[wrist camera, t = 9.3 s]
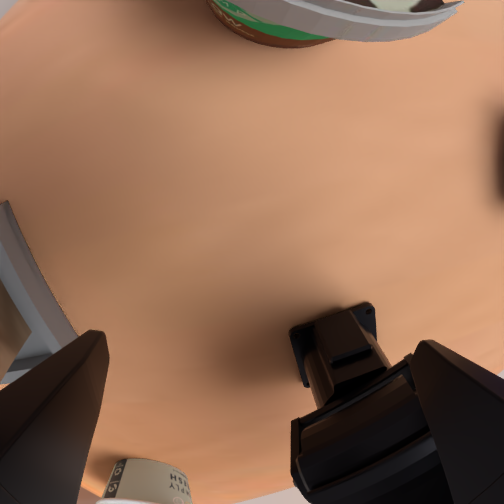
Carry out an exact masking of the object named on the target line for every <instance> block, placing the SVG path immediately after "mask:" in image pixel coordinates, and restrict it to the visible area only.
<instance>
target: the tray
mask: <svg viewBox="0 0 504 504" xmlns="http://www.w3.org/2000/svg"><path fill="white" fill-rule="evenodd" d="M0 279H1V281H2V283H3V284H4V286H5V288H6V290H7V292H8V293H9V295H10V297H11V299H12V300H13V302H14V304H15V305H16V307H17V309H18V310H19V312H20V314H21V315H22V317H23V319H24V320H25V322H26V323H27V325H28V326H29V328H30V330H31V331H32V333H31V334H30V336H29V337H28V339H27V340H26V342H25V343H24V345H23V346H22V348H21V350H20V351H19V353H18V354H17V356H16V357H15V359H14V361H13V362H12V364H11V366H10V367H9V369H8V371H7V372H6V374H5V376H4V377H3V379H2V381H1V382H0V384H7V383H12V382H13V381H15V380H16V379H18V378H19V377H20V376H22V375H23V374H25V373H26V372H28V371H29V370H31V369H32V368H33V367H35V366H36V365H38V364H39V363H41V362H42V361H44V360H45V359H47V358H48V357H50V356H51V355H52V354H54V353H55V352H57V351H58V350H60V349H61V348H63V347H64V346H66V345H67V344H69V343H70V342H72V341H73V340H75V339H76V338H78V335H77V334H76V332H75V331H74V329H73V328H72V326H71V325H70V323H69V321H68V320H67V318H66V316H65V315H64V313H63V312H62V310H61V308H60V306H59V305H58V303H57V301H56V300H55V298H54V296H53V294H52V293H51V291H50V289H49V287H48V285H47V284H46V282H45V280H44V278H43V276H42V274H41V272H40V270H39V268H38V266H37V265H36V263H35V261H34V259H33V257H32V254H31V252H30V250H29V248H28V246H27V244H26V242H25V240H24V238H23V235H22V233H21V231H20V229H19V226H18V224H17V222H16V219H15V217H14V215H13V212H12V210H11V207H10V205H9V202H8V201H6V202H4V203H2V204H0Z"/></svg>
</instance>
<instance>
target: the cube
mask: <svg viewBox="0 0 504 504" xmlns="http://www.w3.org/2000/svg"><path fill="white" fill-rule="evenodd" d="M31 333H32V331H31V330H30V328H29V326H28V325H27V323H26V322H25V320H24V319H23V317H22V315H21V314H20V312H19V310H18V309H17V307H16V305H15V304H14V302H13V300H12V299H11V297H10V295H9V293H8V292H7V290H6V288H5V286H4V284H3V283H2V281H1V279H0V382H1V381H2V379H3V377H4V376H5V374H6V372H7V371H8V369H9V367H10V366H11V364H12V362H13V361H14V359H15V357H16V356H17V354H18V353H19V351H20V350H21V348H22V346H23V345H24V343H25V342H26V340H27V339H28V337H29V336H30V334H31Z"/></svg>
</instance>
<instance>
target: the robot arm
mask: <svg viewBox="0 0 504 504" xmlns="http://www.w3.org/2000/svg"><path fill="white" fill-rule="evenodd" d="M368 309H369V310H368ZM366 310H368V311H366ZM296 333H298V334H297V335H294V334H296ZM289 337H290V340H291V344H292V347H293V350H294V354H295V357H296V361H297V364H298V368H299V371H300V375H301V378H302V382H303V385H304V387H306V388H309V387H311V390H312V393H313V396H314V400H315V403H316V406H317V409H318V410H316V411H314V412H312V413H310V414H308V415H306V416H304V417H301V418H296V419H294V420H292V421H291V470H290V472H291V476H292V477H293V483H294V485H295V487H297V488H298V489H299V490H300V492H301V494H302V495H303V496H304V498H305V499H306V500H307V501H308V502H309V503H311V504H504V379H502V378H501V377H499V376H497V375H495V374H493V373H492V372H490V371H488V370H486V369H484V368H483V367H481V366H479V365H477V364H475V363H474V362H472V361H470V360H468V359H466V358H465V357H463V356H461V355H459V354H457V353H456V352H454V351H452V350H450V349H448V348H447V347H445V346H443V345H441V344H439V343H437V342H436V341H434V340H422V341H420V342H419V344H418V345H417V348H416V350H415V352H414V354H413V355H412V354H411V353H409V354H408V355H406V356H405V357H404V359H403V360H401V361H400V362H398V363H397V364H395V365H394V366H391V364H390V362H389V361H388V359H387V357H386V356H385V354H384V353H383V351H382V349H381V348H380V346H379V345H378V343H377V334H376V318H375V308H374V307H373V305H372V304H371V303H366V304H363V305H360V306H357V307H354V308H352V309H349V310H346V311H343V312H340V313H337V314H334V315H331V316H328V317H325V318H322V319H319V320H316V321H313V322H310V323H306V324H303V325H300V326H297V327H294V328H292V329H291V330H290V331H289ZM108 366H109V351H108V346H107V340H106V335H105V333H104V332H103V331H98V330H88V331H87V332H85V333H84V334H82V335H81V336H79V337H78V338H76V339H75V340H73V341H72V342H70V343H69V344H67V345H66V346H64V347H63V348H61V349H60V350H58V351H57V352H55V353H54V354H52V355H51V356H50V357H48V358H47V359H45V360H44V361H42V362H41V363H39V364H38V365H36V366H35V367H33V368H32V369H31V370H29V371H28V372H26V373H25V374H23V375H22V376H20V377H19V378H18V379H16V380H15V381H13V382H12V383H10V384H9V385H8V386H6V387H5V388H3V389H2V390H0V504H76V503H77V499H78V494H79V490H80V485H81V481H82V477H83V473H84V468H85V464H86V461H87V457H88V453H89V449H90V445H91V442H92V438H93V434H94V431H95V427H96V424H97V420H98V417H99V413H100V409H101V404H102V398H103V392H104V387H105V382H106V376H107V371H108Z"/></svg>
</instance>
